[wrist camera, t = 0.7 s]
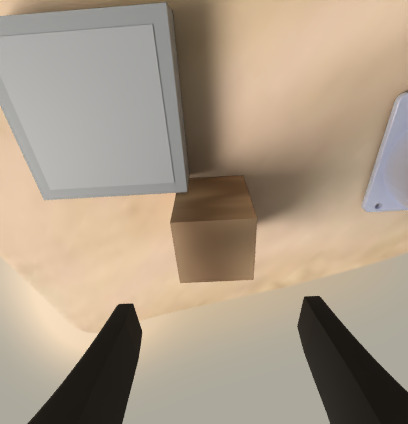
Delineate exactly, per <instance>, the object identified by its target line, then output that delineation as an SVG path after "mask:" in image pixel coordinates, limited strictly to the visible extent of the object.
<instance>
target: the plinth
mask: <svg viewBox="0 0 408 424" xmlns="http://www.w3.org/2000/svg"><path fill="white" fill-rule="evenodd" d="M0 106H1V108H2V110H3V113H4V115H5V117H6V119H7V121H8V123H9V126H10V128H11V130H12V132H13V134H14V136H15V138H16V141H17V143H18V145H19V147H20V149H21V151H22V154H23V156H24V158H25V160H26V162H27V164H28V166H29V169H30V171H31V173H32V175H33V177H34V179H35V182H36V184H37V186H38V188H39V190H40V192H41V194H42V197H43V199H44V200H55V199H73V198H91V197H108V196H126V195H144V194H161V193H179V192H187V190H188V182H189V167H188V157H187V148H186V138H185V128H184V118H183V109H182V99H181V89H180V80H179V70H178V60H177V50H176V41H175V31H174V21H173V11H172V10H171V9H170V7H169V6H168V4H167V3H166V2H165V3H153V4H141V5H129V6H117V7H105V8H93V9H81V10H69V11H57V12H45V13H33V14H21V15H9V16H0Z"/></svg>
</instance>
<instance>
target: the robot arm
mask: <svg viewBox="0 0 408 424" xmlns="http://www.w3.org/2000/svg"><path fill="white" fill-rule="evenodd" d="M378 203H379V204H378ZM376 204H378V205H377V206H376ZM362 208H363V209H364V210H365V211H366V212H380V211H399V210H408V92H404V93H402V94H400V95H399V96H398V97H397V98H396V100H395V102H394V105H393V108H392V112H391V115H390V118H389V121H388V124H387V127H386V131H385V134H384V137H383V140H382V143H381V146H380V149H379V153H378V156H377V159H376V162H375V165H374V168H373V172H372V175H371V178H370V181H369V184H368V187H367V190H366V194H365V197H364V200H363V203H362ZM297 327H298V331H299V334H300V339H301V343H302V346H303V350H304V353H305V356H306V359H307V362H308V364H309V367H310V370H311V372H312V375H313V378H314V380H315V383H316V385H317V388H318V391H319V394H320V396H321V399H322V401H323V404H324V407H325V410H326V412H327V415H328V418H329V421H330V424H408V392H407V391H406V390H405V389H404V388H403V387H402V386H401V385H400V384H399V383H398V382H397V381H396V380H394V378H393V377H392V376H391V375H390V374H389V373H388V372H387V371H386V370H385V369H384V368H383V367H382V366H381V365H380V364H379V363H378V362H377V361H376V360H375V359H374V358H373V357H372V356H371V355H370V354H369V353H368V351H367V350H366V349H365V348H364V347H363V346H362V345H361V344H360V343H359V342H358V341H357V339H356V338H355V337H354V336H353V335H352V334H351V333H350V332H349V331H348V329H347V328H346V327H345V326H344V325H343V324H342V322H341V321H340V320H339V319H338V318H337V316H336V315H335V314H334V313H333V312H332V311H331V309H330V308H329V307H328V306H327V305H326V303H325V302H324V301H323V300H322V298H321V297H320V296H309V297H304V300H303V304H302V308H301V313H300V318H299V322H298V326H297ZM141 338H142V329H141V326H140V323H139V320H138V317H137V314H136V311H135V308H134V305H133V304H119V305H117V307H116V308H115V310H114V311H113V313H112V314H111V316H110V317H109V319H108V321H107V322H106V324H105V325H104V327H103V328H102V329H101V331H100V332H99V334H98V335H97V337H96V338H95V340H94V341H93V343H92V344H91V345H90V347H89V348H88V350H87V351H86V352H85V354H84V355H83V357H82V358H81V359H80V361H79V362H78V363H77V364H76V366H75V367H74V368H73V370H72V371H71V373H70V374H69V375H68V376H67V378H66V379H65V380H64V381H63V383H62V384H61V385H60V386H59V388H58V389H57V390H56V391H55V392H54V394H53V395H52V396H51V398H50V399H49V400H48V401H47V402H46V403H45V404H44V405H43V407H42V408H41V409H40V410H39V411H38V412H37V414H36V415H35V416H34V417H33V418H32V419H31V420H30V421H29V423H28V424H122V422H123V418H124V414H125V410H126V406H127V402H128V398H129V394H130V390H131V386H132V382H133V379H134V375H135V370H136V366H137V362H138V358H139V352H140V346H141Z"/></svg>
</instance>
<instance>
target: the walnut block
mask: <svg viewBox="0 0 408 424" xmlns="http://www.w3.org/2000/svg"><path fill="white" fill-rule="evenodd" d="M170 224H171V231H172V237H173V243H174V249H175V255H176V261H177V267H178V273H179V279H180V283H190V282H213V281H235V280H253V279H254V263H255V246H256V229H257V216H256V213H255V210H254V207H253V204H252V201H251V198H250V195H249V192H248V189H247V186H246V183H245V180H244V177H243V175H240V176H223V177H206V178H189V182H188V190H187V192H179V193H176V197H175V202H174V207H173V212H172V217H171V222H170Z"/></svg>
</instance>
